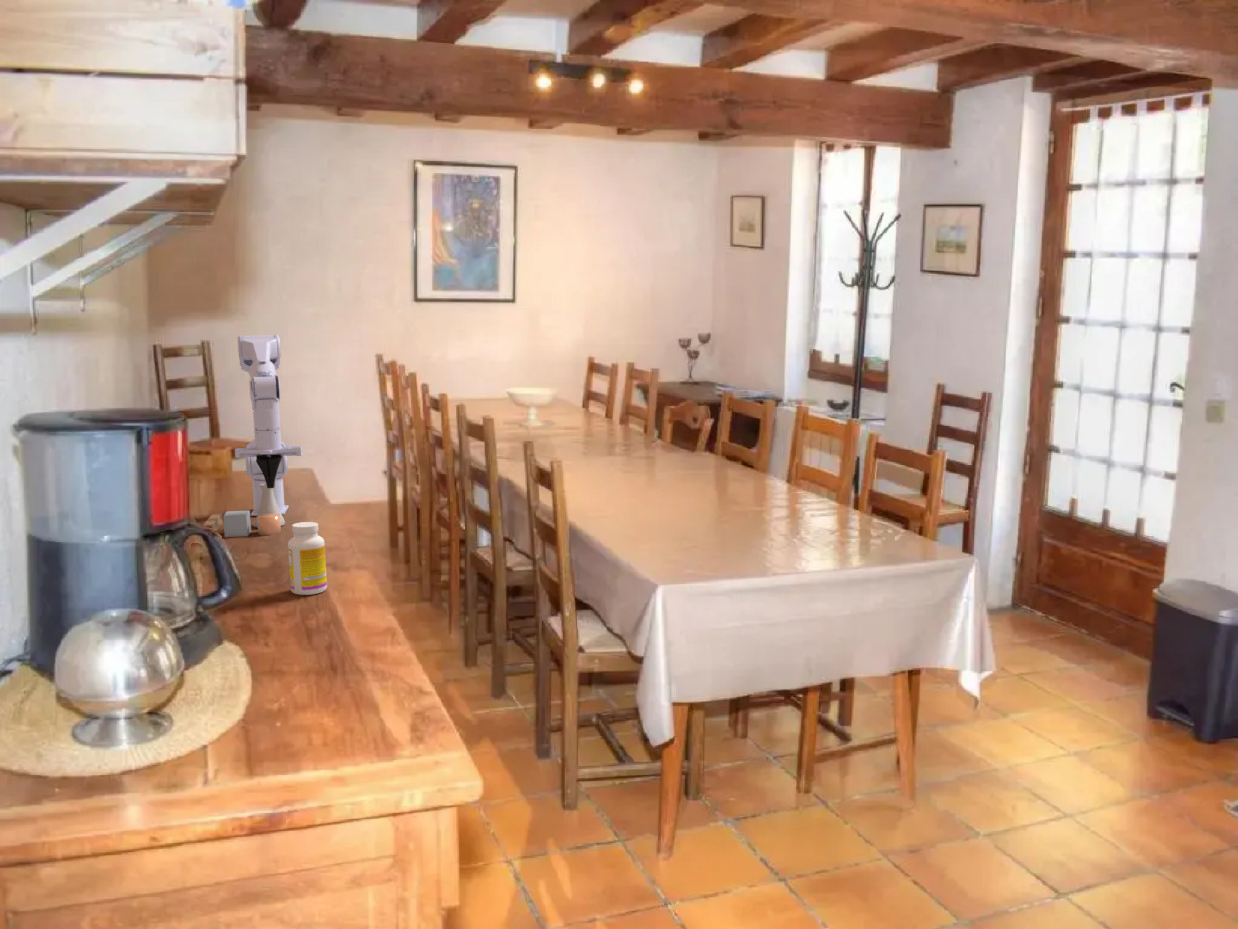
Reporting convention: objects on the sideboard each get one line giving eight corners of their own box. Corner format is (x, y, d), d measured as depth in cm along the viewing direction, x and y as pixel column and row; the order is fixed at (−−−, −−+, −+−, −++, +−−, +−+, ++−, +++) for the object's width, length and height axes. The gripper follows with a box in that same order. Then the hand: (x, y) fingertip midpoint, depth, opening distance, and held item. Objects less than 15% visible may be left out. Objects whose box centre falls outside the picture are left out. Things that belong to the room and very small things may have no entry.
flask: (290, 522, 270) (287, 481, 268) (278, 529, 263) (275, 487, 261) (261, 522, 271) (258, 481, 269) (248, 529, 263) (245, 487, 262)
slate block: (228, 532, 260) (227, 511, 260) (251, 531, 261) (249, 510, 260) (224, 537, 256) (223, 515, 255) (247, 536, 256) (246, 514, 256)
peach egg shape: (260, 530, 262) (259, 514, 261) (282, 530, 262) (281, 513, 262) (256, 535, 257) (255, 518, 256) (279, 534, 257) (278, 517, 257)
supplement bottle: (334, 588, 213) (331, 522, 211) (311, 597, 207) (307, 529, 205) (306, 584, 216) (303, 519, 214) (282, 593, 210) (278, 526, 208)
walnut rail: (214, 523, 269) (213, 513, 269) (222, 523, 270) (222, 512, 269) (202, 536, 256) (201, 526, 255) (211, 536, 256) (211, 525, 256)
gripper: (231, 432, 251) (235, 492, 254) (298, 430, 254) (301, 489, 256) (236, 427, 258) (240, 486, 261) (301, 426, 260) (305, 483, 263)
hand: (271, 487), depth 259 cm, fingers closed
